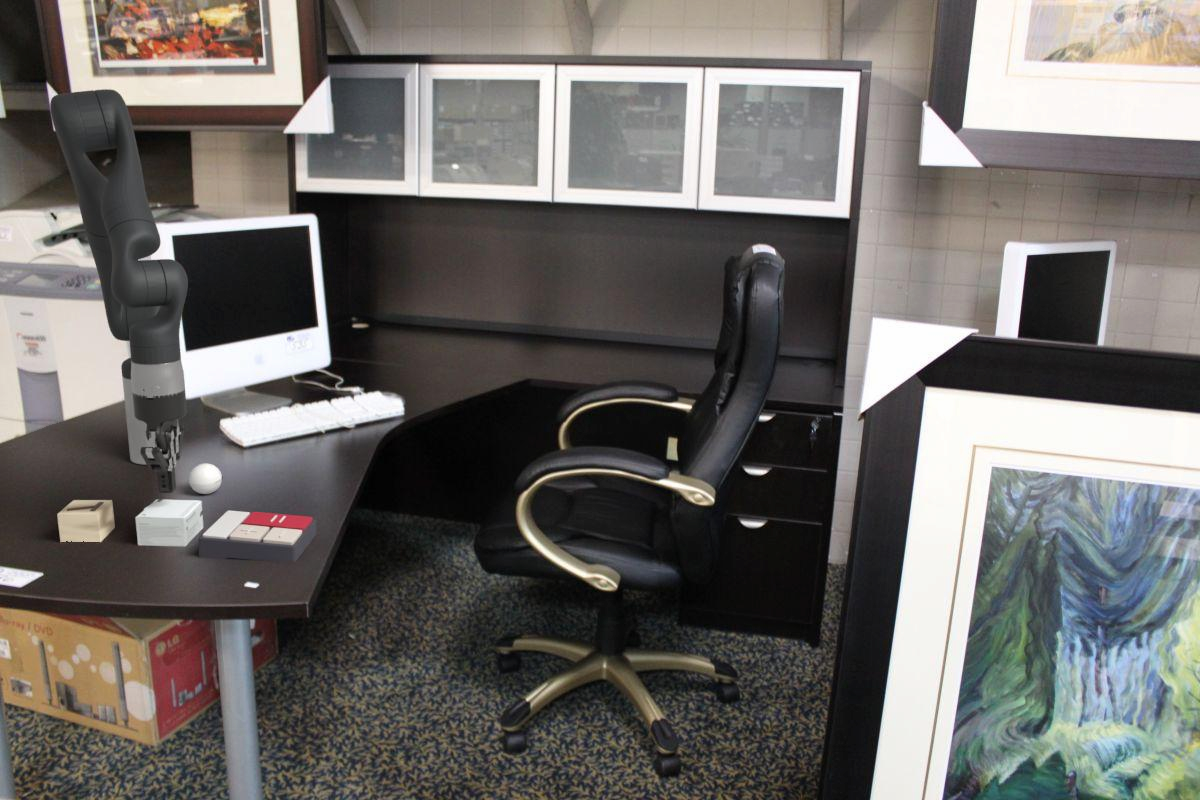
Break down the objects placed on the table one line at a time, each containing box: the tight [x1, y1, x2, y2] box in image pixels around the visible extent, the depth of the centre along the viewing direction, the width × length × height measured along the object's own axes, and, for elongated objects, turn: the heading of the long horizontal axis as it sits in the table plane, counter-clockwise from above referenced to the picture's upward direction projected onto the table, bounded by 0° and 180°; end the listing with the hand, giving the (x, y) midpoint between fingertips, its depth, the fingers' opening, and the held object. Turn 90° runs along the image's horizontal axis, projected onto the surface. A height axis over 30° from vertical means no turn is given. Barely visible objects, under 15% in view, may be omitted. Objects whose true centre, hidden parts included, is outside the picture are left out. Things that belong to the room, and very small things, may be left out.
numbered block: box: [57, 499, 116, 543], centre depth 152 cm, size 6×6×5 cm
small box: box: [134, 498, 204, 547], centre depth 153 cm, size 8×8×5 cm
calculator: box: [198, 509, 317, 563], centre depth 152 cm, size 11×4×15 cm
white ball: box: [188, 462, 223, 495], centre depth 173 cm, size 8×6×6 cm
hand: (167, 491), depth 152 cm, fingers closed
